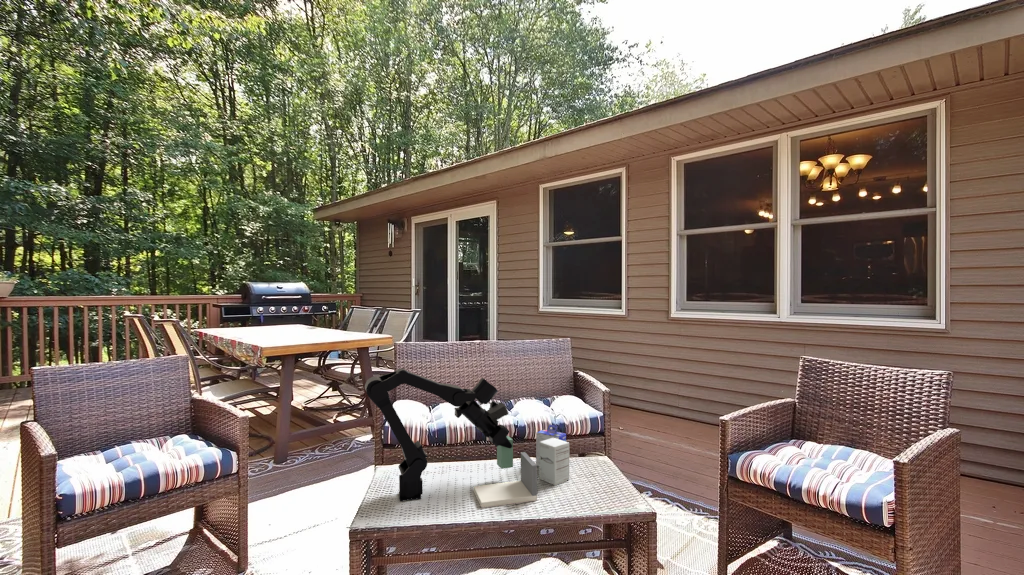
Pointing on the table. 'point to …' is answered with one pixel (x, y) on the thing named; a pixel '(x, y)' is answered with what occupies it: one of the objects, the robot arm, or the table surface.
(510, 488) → the shelf board
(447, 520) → the table surface
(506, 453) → the mint green square pillar
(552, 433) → the ink cartridge box
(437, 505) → the table surface
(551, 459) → the supplement box
